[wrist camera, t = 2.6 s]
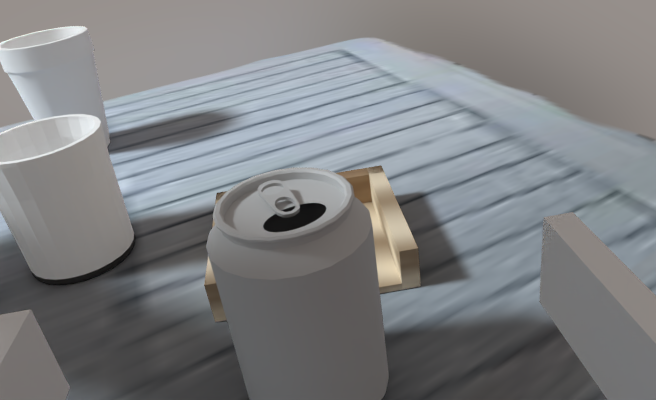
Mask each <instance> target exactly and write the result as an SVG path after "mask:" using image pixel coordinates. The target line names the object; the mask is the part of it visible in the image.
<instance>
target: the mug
mask: <svg viewBox="0 0 656 400" xmlns="http://www.w3.org/2000/svg"><path fill="white" fill-rule="evenodd" d="M0 211H1V213H2V215H3V217H4V219H5V221H6V223H7V225H8V227H9V229H10V231H11V233H12V235H13V237H14V239H15V241H16V243H17V245H18V246H19V248H20V250H21V252H22V254H23V256H24V258H25V260H26V262H27V264H28V266H29V268H30V270H31V272H32V274H33V275H34V276H35V277H36V278H37V279H38V280H40V281H42V282H45V283H48V284H57V285H62V284H71V283H76V282H80V281H84V280H88V279H90V278H93V277H96V276H98V275H101V274H103V273H104V272H106V271H108V270H110V269H112V268H114V267H115V266H116V265H118V264H119V263H120V262H122V261H123V260H124V259H125V258H126V257H127V256H128V255H129V254H130V252H131V250H132V248H133V247H134V243H135V235H134V231H133V228H132V225H131V222H130V219H129V216H128V213H127V210H126V207H125V203H124V200H123V197H122V194H121V191H120V188H119V185H118V182H117V179H116V175H115V172H114V169H113V166H112V163H111V160H110V156H109V152H108V148H107V144H106V140H105V135H104V131H103V127H102V123H101V121H100V120H99V118H98V117H95V116H92V115H86V114H69V115H62V116H54V117H50V118H45V119H40V120H36V121H33V122H29V123H25V124H22V125H19V126H17V127H14V128H11V129H8V130H6V131H4V132H1V133H0Z"/></svg>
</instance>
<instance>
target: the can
mask: <svg viewBox="0 0 656 400" xmlns="http://www.w3.org/2000/svg"><path fill="white" fill-rule="evenodd" d="M213 219H214V222H215V225H214V227H213V228H212V229H211V231H210V232H209V236H208V240H207V244H206V249H207V252H208V256H209V260H210V263H211V267H212V270H213V274H214V277H215V281H216V284H217V288H218V291H219V295H220V298H221V302H222V305H223V309H224V312H225V316H226V319H227V323H228V326H229V330H230V333H231V337H232V340H233V344H234V347H235V351H236V354H237V358H238V361H239V365H240V368H241V372H242V375H243V379H244V382H245V386H246V389H247V393H248V396H249V399H250V400H382V398H383V397H384V395H385V393H386V388H387V384H388V380H389V371H388V362H387V353H386V344H385V335H384V326H383V317H382V308H381V299H380V290H379V281H378V272H377V263H376V254H375V245H374V236H373V227H372V221H371V216H370V212H369V210H368V209H367V208H366V207H365V205H364V204H363V203H362V202H361V201H360V200H359V199H357V198H356V197H355V196H354V191H353V186H352V185H351V184H350V183H349V182H348V181H347V180H346V179H345V178H344V177H343V176H341V175H338V174H336V173H334V172H331V171H329V170H323V169H318V168H288V169H281V170H274V171H271V172H267V173H263V174H260V175H256V176H254V177H252V178H250V179H247V180H245V181H243V182H241V183H239V184H237V185H236V186H234V187H233V188H231V189H230V190H229V191H227V192H226V193H225V194H224V195H223V196H222V197H221V199H220V200H219V201H218V202H217V203H216V205H215V208H214V212H213Z"/></svg>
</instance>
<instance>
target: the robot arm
mask: <svg viewBox="0 0 656 400" xmlns="http://www.w3.org/2000/svg"><path fill="white" fill-rule="evenodd" d="M540 303H541V305H542V306H543V308H544V309H545V310H546V312H547V313H548V315H549V316H550V318H551V319H552V321H553V322H554V323H555V325H556V326H557V328H558V329H559V331H560V332H561V334H562V335H563V336H564V338H565V339H566V341H567V342H568V344H569V345H570V347H571V348H572V349H573V351H574V352H575V354H576V355H577V357H578V358H579V359H580V361H581V362H582V364H583V365H584V367H585V368H586V370H587V371H588V372H589V374H590V375H591V377H592V378H593V380H594V381H595V383H596V384H597V385H598V387H599V388H600V390H601V391H602V393H603V394H604V396H605V397H606V398H607V400H656V295H655V294H654V293H653V292H652V291H651V290H650V289H649V288H648V287H647V286H646V285H645V284H644V283H643V282H642V281H641V280H640V279H639V278H638V277H637V276H636V275H635V274H634V273H633V272H632V271H631V270H630V269H629V268H628V267H627V266H626V265H625V264H624V263H623V262H622V261H621V260H620V259H619V258H618V257H617V256H616V255H615V254H614V253H613V252H612V251H611V250H610V249H609V248H608V247H607V246H606V245H605V244H604V243H603V242H602V241H601V240H600V239H599V238H598V237H597V236H596V235H595V234H594V233H593V232H592V231H591V230H590V229H589V228H588V227H587V226H586V225H585V224H584V223H583V222H582V221H581V220H580V219H579V218H578V217H577V216H576V215H575V214H574V213H573V212H572V213H566V214H560V215H555V216H549V217H544V219H543V240H542V261H541V282H540ZM69 390H70V386H69V384H68V382H67V380H66V378H65V376H64V374H63V372H62V370H61V368H60V366H59V364H58V362H57V360H56V358H55V356H54V354H53V352H52V350H51V348H50V346H49V344H48V342H47V340H46V338H45V336H44V334H43V332H42V330H41V328H40V326H39V324H38V322H37V320H36V318H35V316H34V314H33V312H32V310H31V309H29V310H23V311H18V312H12V313H7V314H1V315H0V400H66V397H67V395H68V392H69Z"/></svg>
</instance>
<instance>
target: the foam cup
mask: <svg viewBox="0 0 656 400" xmlns="http://www.w3.org/2000/svg"><path fill="white" fill-rule="evenodd" d="M93 51H94V47H93V44H92V41H91V38H90V35H89V32H88V29H87V28H86V27H84V26H69V27H61V28H53V29H48V30H43V31H38V32H33V33H30V34H26V35H22V36H19V37H15V38H12V39H9V40H6V41H4V42H1V43H0V62H1V64H2V67H3V69H4V72H7V73H8V74H9V76H10V78H11V80H12V82H13V83H14V85H15V87H16V89H17V90H18V92H19V94H20V96H21V97H22V99H23V101H24V102H25V104H26V106H27V108H28V110H29V111H30V113H31V115H32V117H33V118H34V120H35V121H36V120H40V119H45V118H50V117H54V116H62V115H69V114H86V115H92V116H95V117H98V118H99V120H100V121H101V123H102V127H103V131H104V135H105V140H106V144H107V147H108V145H109V143H110V139H109V137H110V136H109V131H108V126H107V121H106V115H105V110H104V105H103V100H102V95H101V90H100V85H99V80H98V74H97V69H96V64H95V59H94V54H93Z"/></svg>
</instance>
